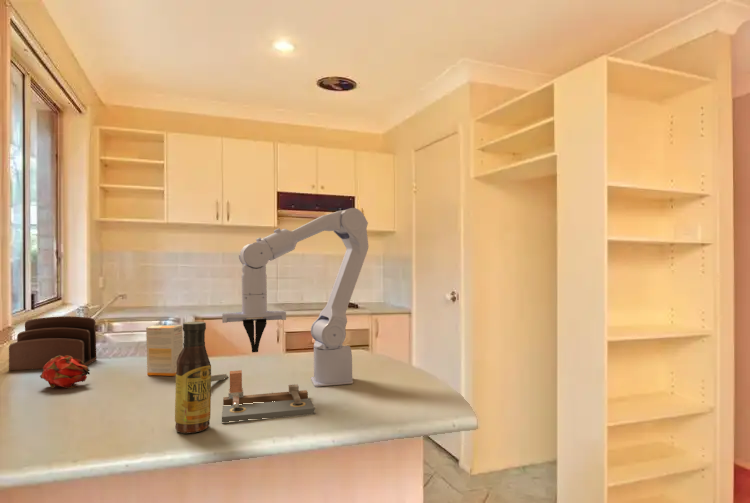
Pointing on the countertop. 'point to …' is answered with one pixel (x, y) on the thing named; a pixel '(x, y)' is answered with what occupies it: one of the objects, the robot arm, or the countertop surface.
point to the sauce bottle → (193, 381)
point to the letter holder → (53, 342)
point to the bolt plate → (268, 410)
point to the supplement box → (163, 349)
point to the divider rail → (272, 396)
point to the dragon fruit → (64, 371)
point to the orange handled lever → (236, 387)
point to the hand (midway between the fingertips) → (255, 351)
